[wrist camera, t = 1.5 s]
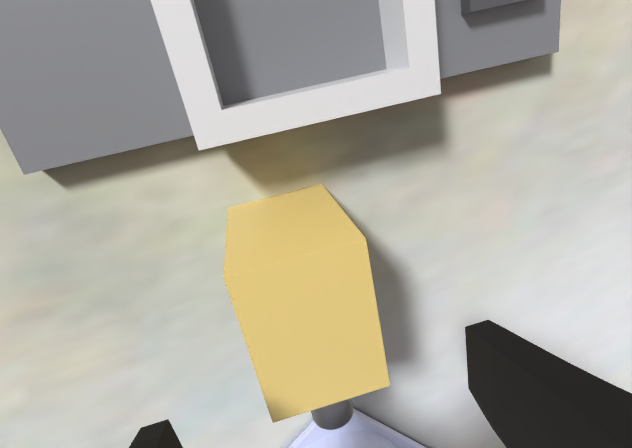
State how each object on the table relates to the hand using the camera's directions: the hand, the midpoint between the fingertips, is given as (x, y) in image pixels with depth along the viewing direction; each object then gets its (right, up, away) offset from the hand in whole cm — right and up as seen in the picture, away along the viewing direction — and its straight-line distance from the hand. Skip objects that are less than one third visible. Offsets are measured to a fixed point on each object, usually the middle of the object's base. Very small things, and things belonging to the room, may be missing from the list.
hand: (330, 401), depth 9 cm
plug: (-1, +3, +8) cm, 9 cm away
